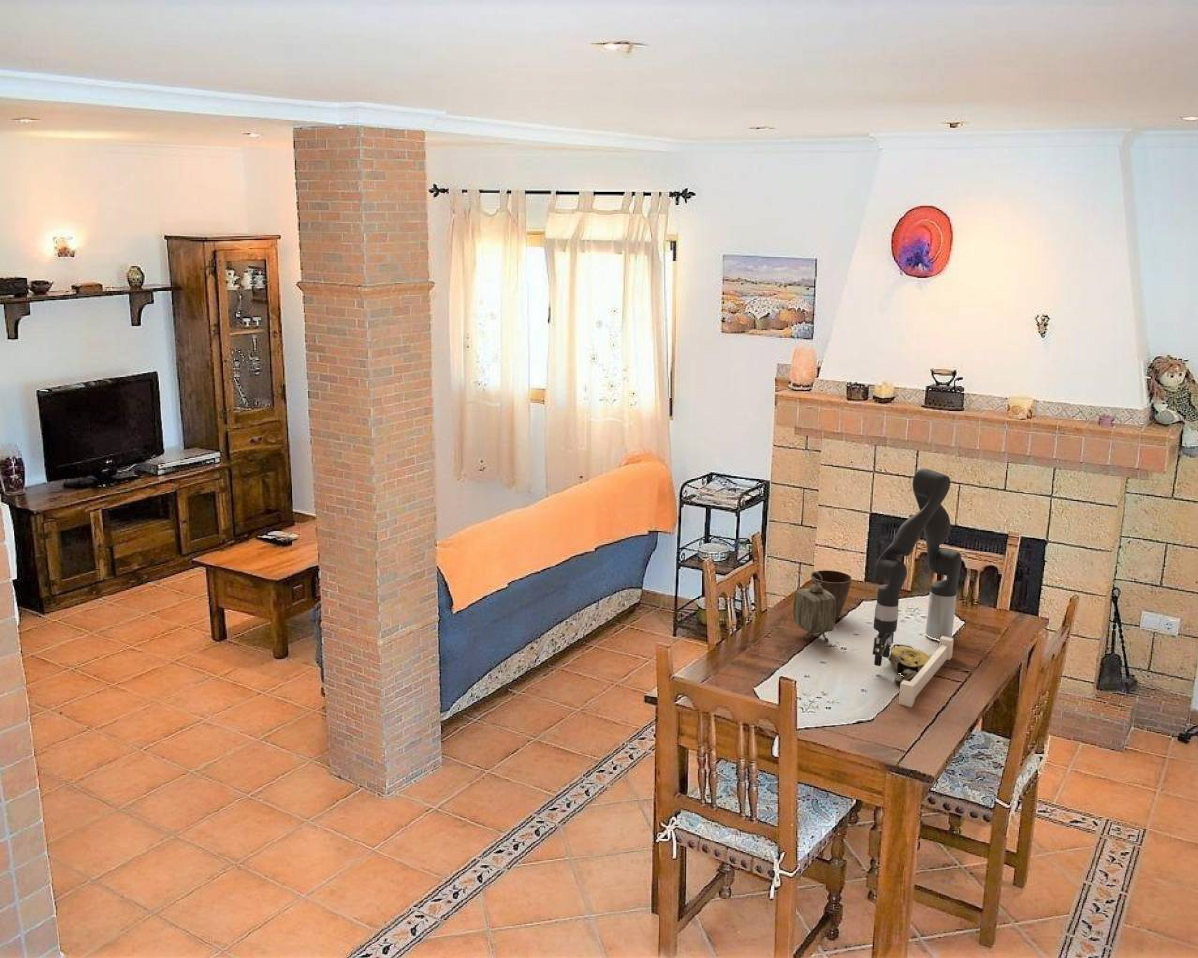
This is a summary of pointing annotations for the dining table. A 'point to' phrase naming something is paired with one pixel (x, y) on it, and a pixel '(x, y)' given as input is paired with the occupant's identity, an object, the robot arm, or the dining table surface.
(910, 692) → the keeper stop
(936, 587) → the robot arm
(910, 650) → the pulley block
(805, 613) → the tabletop clock
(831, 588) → the plant pot
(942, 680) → the dining table surface
